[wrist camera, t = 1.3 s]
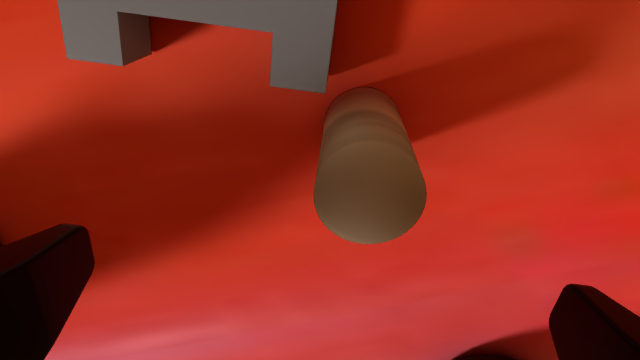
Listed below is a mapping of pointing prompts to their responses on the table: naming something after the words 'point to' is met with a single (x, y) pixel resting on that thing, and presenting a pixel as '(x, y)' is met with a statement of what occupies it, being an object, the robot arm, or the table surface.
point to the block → (211, 8)
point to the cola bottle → (488, 357)
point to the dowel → (367, 170)
